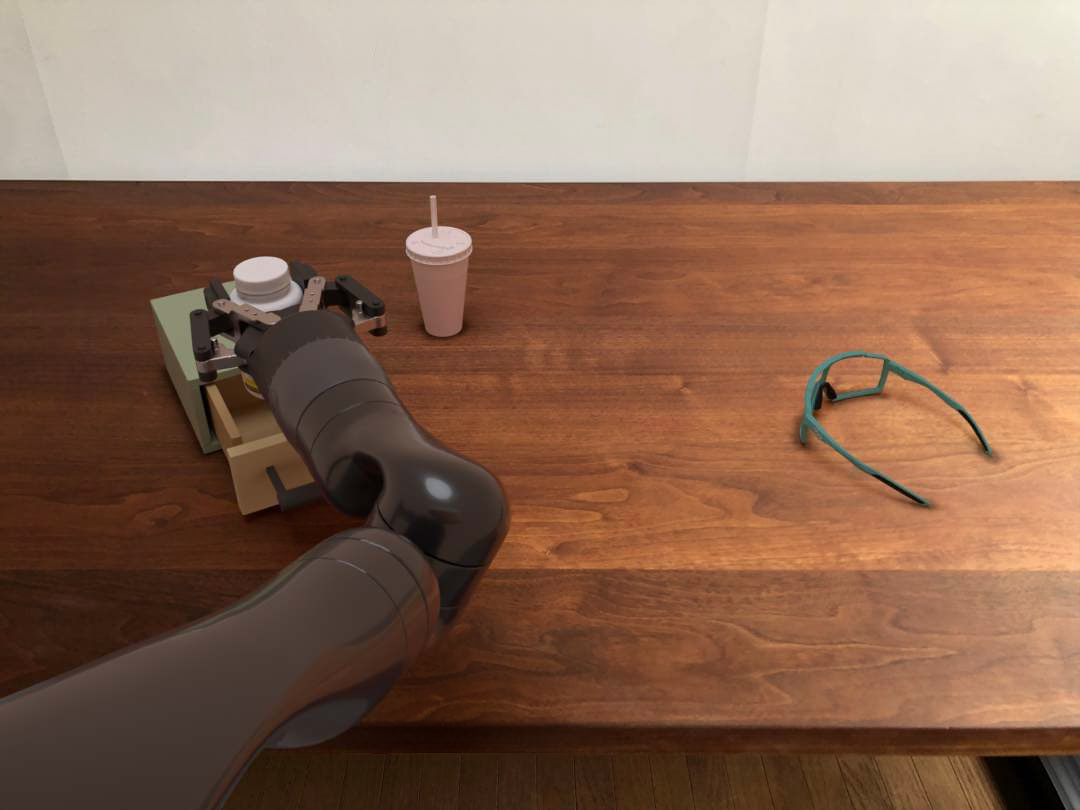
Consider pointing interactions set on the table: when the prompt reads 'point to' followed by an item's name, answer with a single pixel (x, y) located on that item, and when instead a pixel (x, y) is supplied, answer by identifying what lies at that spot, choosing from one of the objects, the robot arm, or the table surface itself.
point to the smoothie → (440, 274)
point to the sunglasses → (821, 385)
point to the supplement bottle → (264, 292)
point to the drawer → (257, 450)
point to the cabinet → (188, 357)
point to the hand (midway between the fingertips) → (256, 280)
